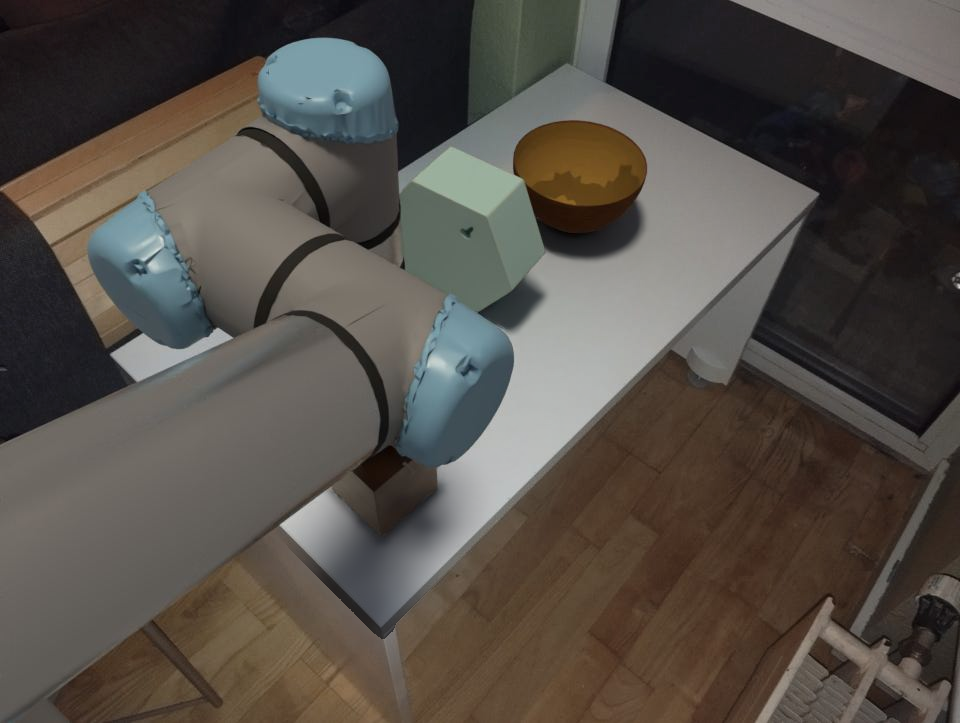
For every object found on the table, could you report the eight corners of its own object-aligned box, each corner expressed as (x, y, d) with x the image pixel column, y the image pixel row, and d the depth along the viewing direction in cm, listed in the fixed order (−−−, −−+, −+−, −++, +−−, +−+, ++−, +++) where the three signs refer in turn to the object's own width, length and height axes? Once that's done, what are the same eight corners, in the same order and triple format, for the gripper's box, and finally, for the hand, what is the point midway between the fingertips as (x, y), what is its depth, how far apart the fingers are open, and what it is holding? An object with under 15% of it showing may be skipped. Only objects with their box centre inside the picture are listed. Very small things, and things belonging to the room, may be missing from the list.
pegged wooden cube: (380, 552, 78) (372, 506, 70) (316, 488, 82) (302, 438, 74) (452, 488, 82) (452, 439, 74) (388, 430, 86) (382, 378, 78)
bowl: (484, 228, 107) (487, 170, 99) (548, 162, 116) (555, 104, 108) (596, 281, 101) (608, 225, 93) (654, 208, 110) (669, 150, 102)
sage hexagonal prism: (484, 293, 106) (573, 234, 88) (452, 328, 102) (538, 274, 84) (399, 200, 103) (473, 121, 85) (362, 233, 99) (432, 156, 81)
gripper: (465, 290, 53) (461, 459, 72) (324, 185, 59) (354, 366, 78) (383, 349, 50) (402, 511, 69) (244, 232, 56) (295, 410, 75)
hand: (376, 434), depth 73 cm, fingers closed on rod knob, 2 cm apart
